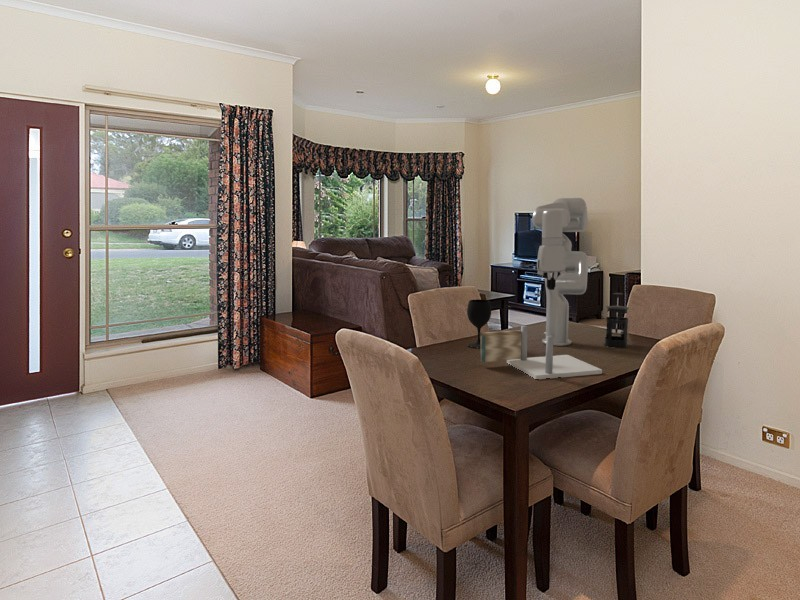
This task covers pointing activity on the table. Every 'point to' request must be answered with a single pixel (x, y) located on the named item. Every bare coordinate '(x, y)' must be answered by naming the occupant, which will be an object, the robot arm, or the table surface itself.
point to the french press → (616, 340)
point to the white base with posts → (550, 362)
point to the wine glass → (478, 316)
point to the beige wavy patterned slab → (500, 345)
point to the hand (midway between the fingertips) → (550, 289)
